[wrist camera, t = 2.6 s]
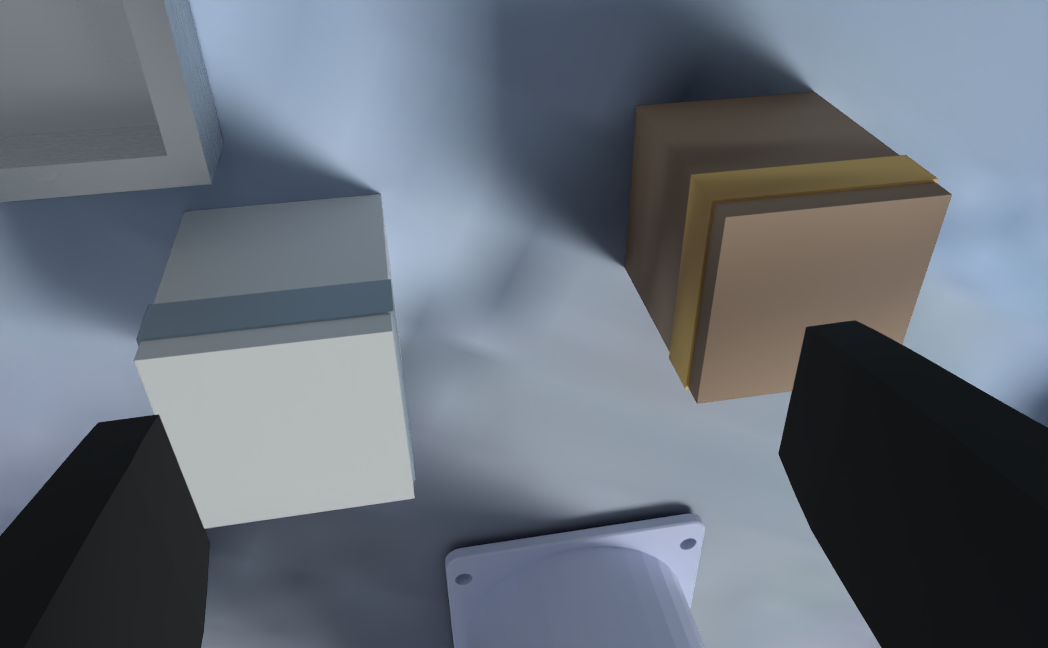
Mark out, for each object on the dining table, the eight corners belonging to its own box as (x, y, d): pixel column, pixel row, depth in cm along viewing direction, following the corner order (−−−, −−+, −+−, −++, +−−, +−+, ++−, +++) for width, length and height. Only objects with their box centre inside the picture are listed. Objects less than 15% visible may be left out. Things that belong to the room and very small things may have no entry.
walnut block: (782, 251, 20) (892, 379, 16) (622, 269, 19) (693, 405, 15) (816, 88, 18) (956, 191, 14) (633, 103, 17) (723, 215, 13)
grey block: (402, 344, 19) (417, 499, 16) (226, 364, 19) (196, 531, 15) (382, 190, 17) (395, 328, 13) (181, 209, 16) (129, 358, 13)
